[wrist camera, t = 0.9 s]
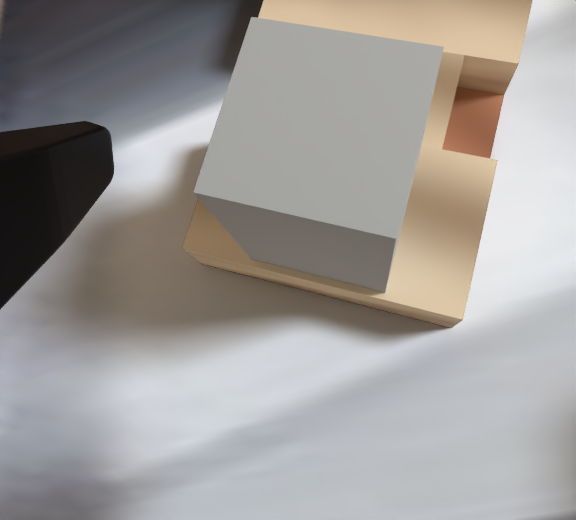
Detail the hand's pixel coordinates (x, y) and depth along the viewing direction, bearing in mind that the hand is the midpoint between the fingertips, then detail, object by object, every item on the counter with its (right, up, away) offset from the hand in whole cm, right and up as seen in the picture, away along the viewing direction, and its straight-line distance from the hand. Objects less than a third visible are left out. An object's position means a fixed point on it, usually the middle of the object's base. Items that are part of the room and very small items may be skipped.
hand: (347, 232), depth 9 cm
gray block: (+1, +1, +11) cm, 11 cm away
